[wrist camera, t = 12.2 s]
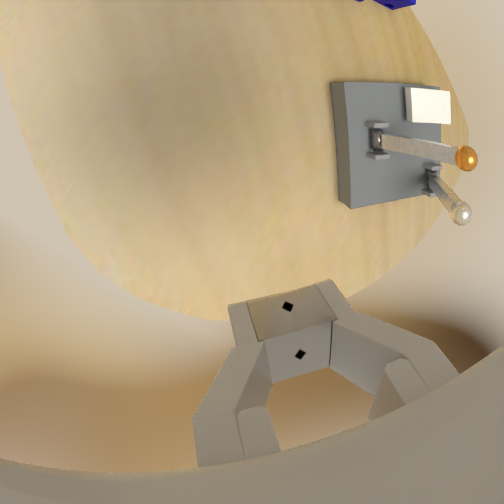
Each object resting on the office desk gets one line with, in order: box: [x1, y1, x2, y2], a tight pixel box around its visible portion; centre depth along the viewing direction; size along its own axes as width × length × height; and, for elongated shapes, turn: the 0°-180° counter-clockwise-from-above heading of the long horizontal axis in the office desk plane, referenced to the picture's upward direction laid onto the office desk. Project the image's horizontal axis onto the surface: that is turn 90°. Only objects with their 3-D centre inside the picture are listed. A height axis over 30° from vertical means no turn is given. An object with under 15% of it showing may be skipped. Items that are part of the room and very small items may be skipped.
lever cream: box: [427, 169, 472, 225], centre depth 35 cm, size 3×3×15 cm
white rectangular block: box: [405, 87, 451, 124], centre depth 33 cm, size 5×7×2 cm
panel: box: [330, 82, 442, 209], centre depth 38 cm, size 18×18×6 cm
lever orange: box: [372, 128, 478, 171], centre depth 31 cm, size 3×3×15 cm
